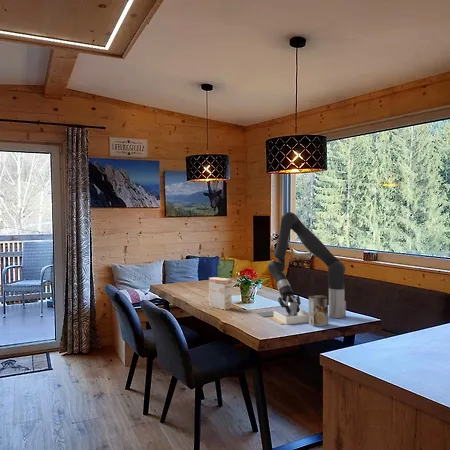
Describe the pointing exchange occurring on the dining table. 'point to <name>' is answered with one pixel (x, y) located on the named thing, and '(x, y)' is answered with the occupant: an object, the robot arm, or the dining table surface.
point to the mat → (266, 314)
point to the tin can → (292, 309)
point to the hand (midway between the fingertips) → (293, 312)
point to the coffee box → (318, 310)
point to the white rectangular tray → (291, 318)
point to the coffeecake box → (220, 293)
